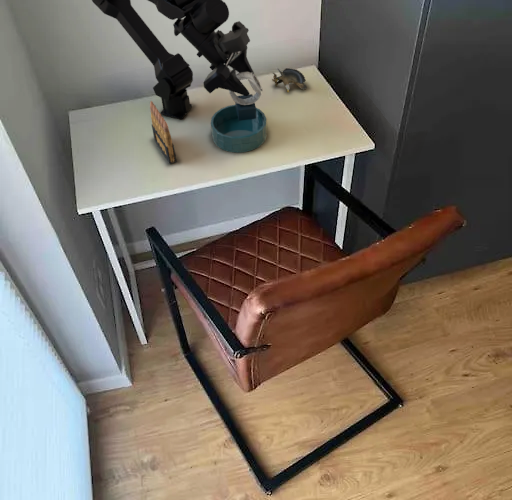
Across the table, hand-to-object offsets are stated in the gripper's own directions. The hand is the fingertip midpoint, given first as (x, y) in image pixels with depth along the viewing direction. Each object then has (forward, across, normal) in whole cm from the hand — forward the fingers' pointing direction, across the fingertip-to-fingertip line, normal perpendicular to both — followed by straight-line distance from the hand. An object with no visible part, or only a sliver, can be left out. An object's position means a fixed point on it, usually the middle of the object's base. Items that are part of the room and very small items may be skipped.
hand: (251, 87), depth 137 cm
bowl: (+7, -2, +12) cm, 14 cm away
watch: (+4, 0, +6) cm, 8 cm away
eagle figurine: (+13, +22, +6) cm, 26 cm away
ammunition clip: (-4, -12, +23) cm, 27 cm away
